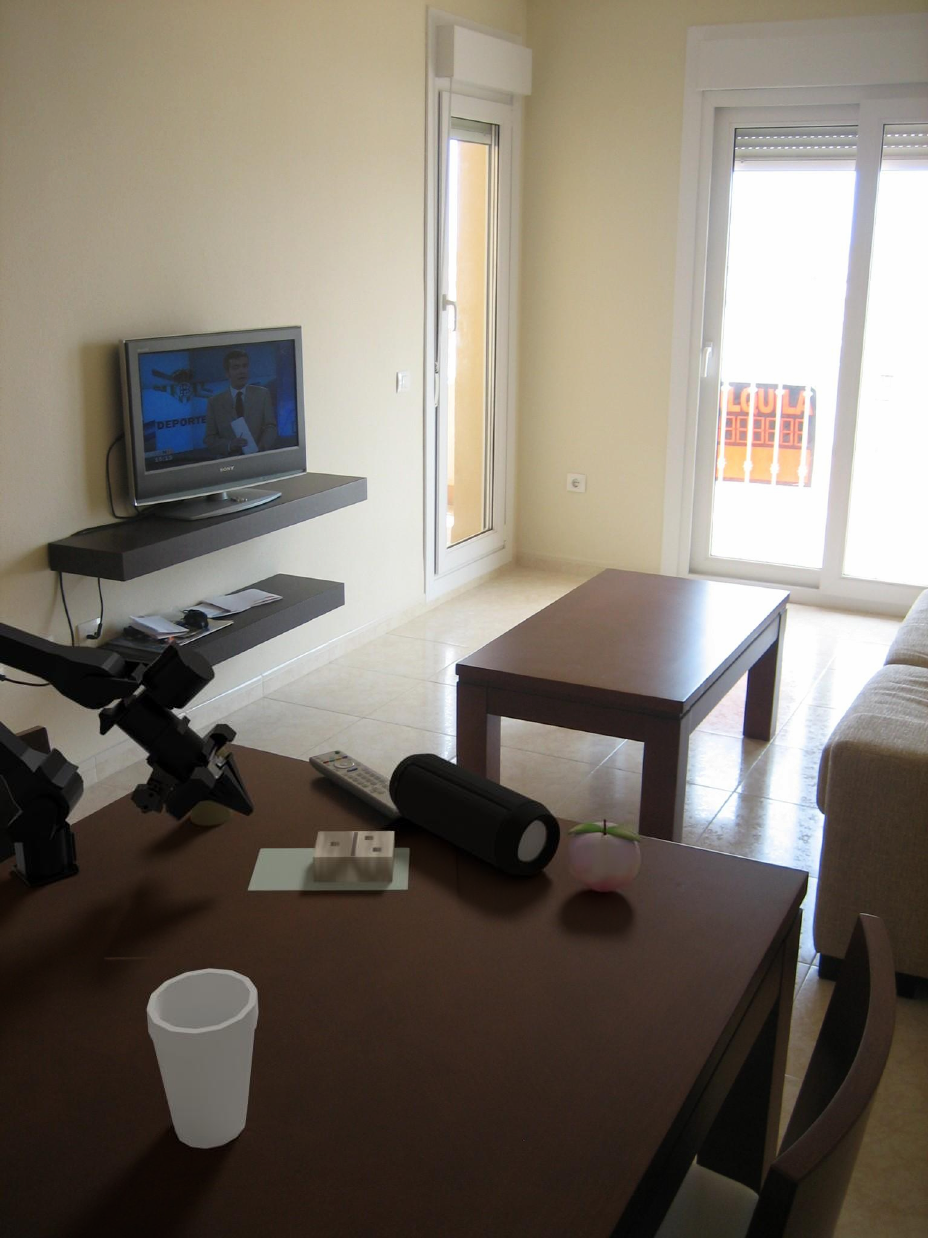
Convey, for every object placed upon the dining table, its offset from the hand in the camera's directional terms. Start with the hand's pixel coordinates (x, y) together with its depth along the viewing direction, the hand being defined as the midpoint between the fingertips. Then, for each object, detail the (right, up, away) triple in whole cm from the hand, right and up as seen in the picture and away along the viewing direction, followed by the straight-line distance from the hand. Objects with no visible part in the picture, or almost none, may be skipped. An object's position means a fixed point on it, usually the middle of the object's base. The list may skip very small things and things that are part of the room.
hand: (251, 812), depth 147 cm
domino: (+8, -6, +2) cm, 10 cm away
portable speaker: (+28, -6, +10) cm, 30 cm away
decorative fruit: (+45, -10, -2) cm, 46 cm away
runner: (+10, -8, +3) cm, 13 cm away
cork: (-9, -4, +17) cm, 19 cm away
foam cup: (+4, -21, -42) cm, 47 cm away
